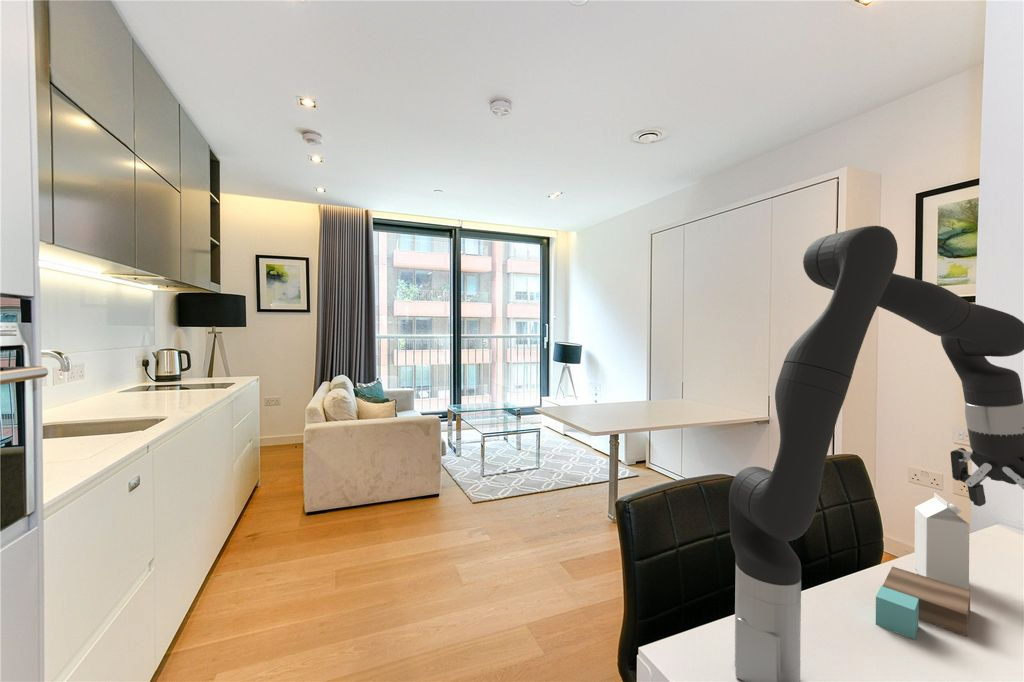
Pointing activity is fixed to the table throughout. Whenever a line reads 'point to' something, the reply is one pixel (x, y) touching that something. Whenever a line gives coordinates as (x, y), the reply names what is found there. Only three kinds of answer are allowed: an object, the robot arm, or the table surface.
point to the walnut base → (934, 599)
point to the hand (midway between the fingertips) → (1011, 513)
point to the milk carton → (942, 542)
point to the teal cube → (897, 612)
